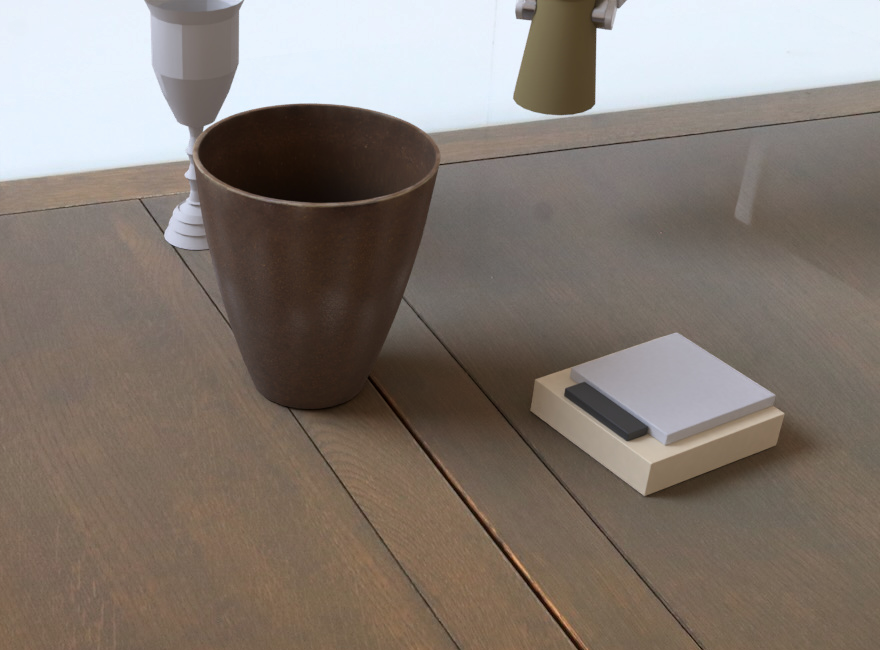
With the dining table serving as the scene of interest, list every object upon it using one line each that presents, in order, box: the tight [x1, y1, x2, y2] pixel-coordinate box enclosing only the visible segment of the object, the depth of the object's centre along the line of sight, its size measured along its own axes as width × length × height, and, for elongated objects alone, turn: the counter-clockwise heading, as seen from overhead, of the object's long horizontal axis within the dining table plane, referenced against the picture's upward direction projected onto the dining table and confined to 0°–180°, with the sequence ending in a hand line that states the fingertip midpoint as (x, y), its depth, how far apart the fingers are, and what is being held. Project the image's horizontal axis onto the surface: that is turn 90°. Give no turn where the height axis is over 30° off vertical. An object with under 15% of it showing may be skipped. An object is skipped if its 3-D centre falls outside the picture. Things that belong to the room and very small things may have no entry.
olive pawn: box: [512, 0, 598, 116], centre depth 112 cm, size 6×6×11 cm
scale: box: [530, 331, 786, 497], centre depth 100 cm, size 11×11×3 cm
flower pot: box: [192, 102, 441, 410], centre depth 100 cm, size 15×15×16 cm
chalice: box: [143, 0, 245, 251], centre depth 115 cm, size 7×7×18 cm
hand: (563, 21), depth 111 cm, fingers closed on olive pawn, 4 cm apart
